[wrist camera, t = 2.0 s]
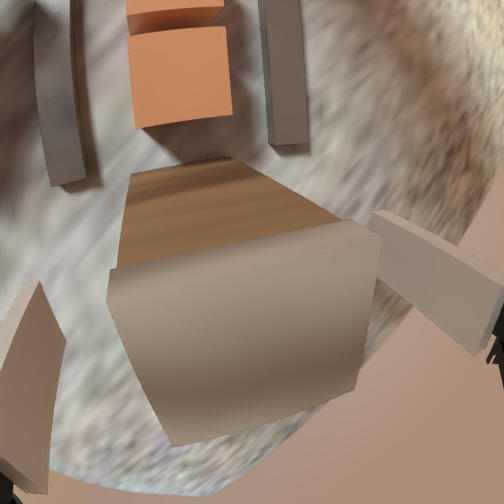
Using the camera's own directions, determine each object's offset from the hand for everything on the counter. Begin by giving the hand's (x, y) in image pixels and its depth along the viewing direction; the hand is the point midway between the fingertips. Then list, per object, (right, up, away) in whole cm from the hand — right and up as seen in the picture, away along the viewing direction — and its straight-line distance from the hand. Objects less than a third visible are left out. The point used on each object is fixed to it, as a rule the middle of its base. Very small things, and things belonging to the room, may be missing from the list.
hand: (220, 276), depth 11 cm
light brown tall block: (-2, +3, +6) cm, 7 cm away
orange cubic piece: (-3, +10, +3) cm, 10 cm away
